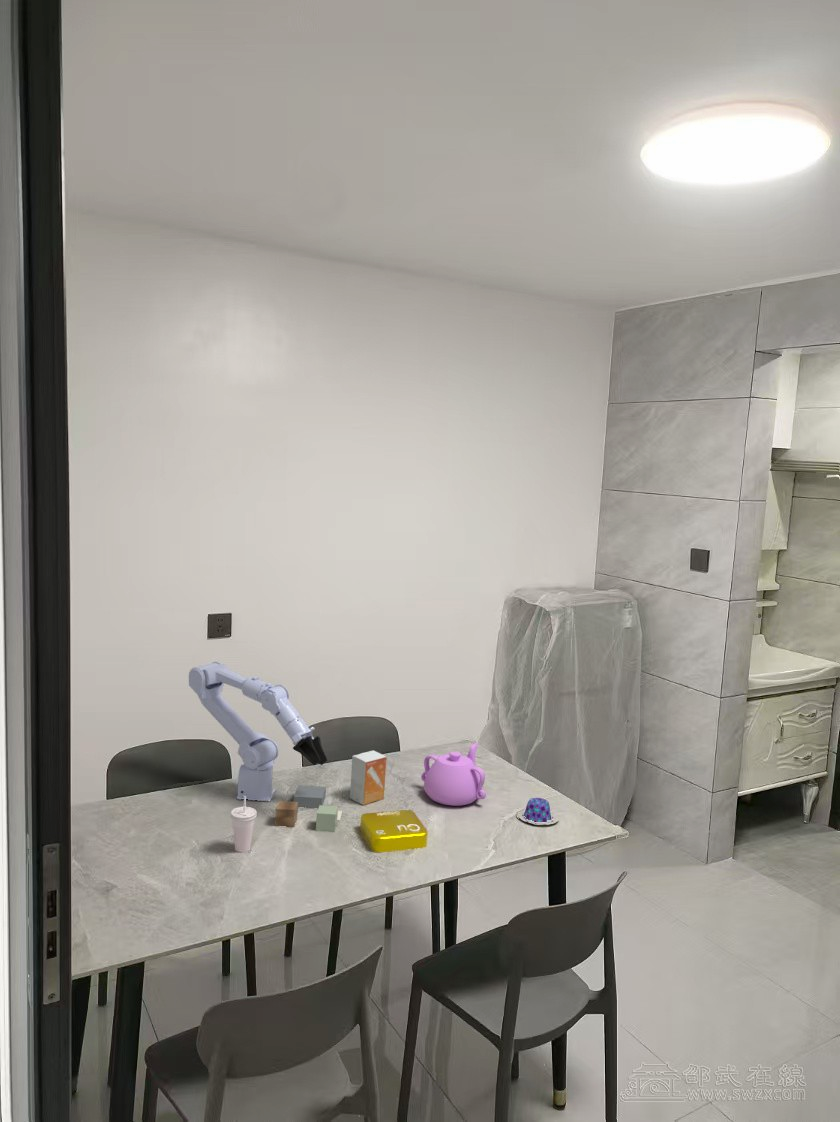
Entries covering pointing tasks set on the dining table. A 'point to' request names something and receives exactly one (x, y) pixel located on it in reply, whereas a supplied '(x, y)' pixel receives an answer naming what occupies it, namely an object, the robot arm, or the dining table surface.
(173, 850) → the dining table surface
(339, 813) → the card
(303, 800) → the slate block
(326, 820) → the sage cube
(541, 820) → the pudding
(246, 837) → the smoothie
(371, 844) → the element tile
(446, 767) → the teapot
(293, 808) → the walnut cube
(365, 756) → the small box
